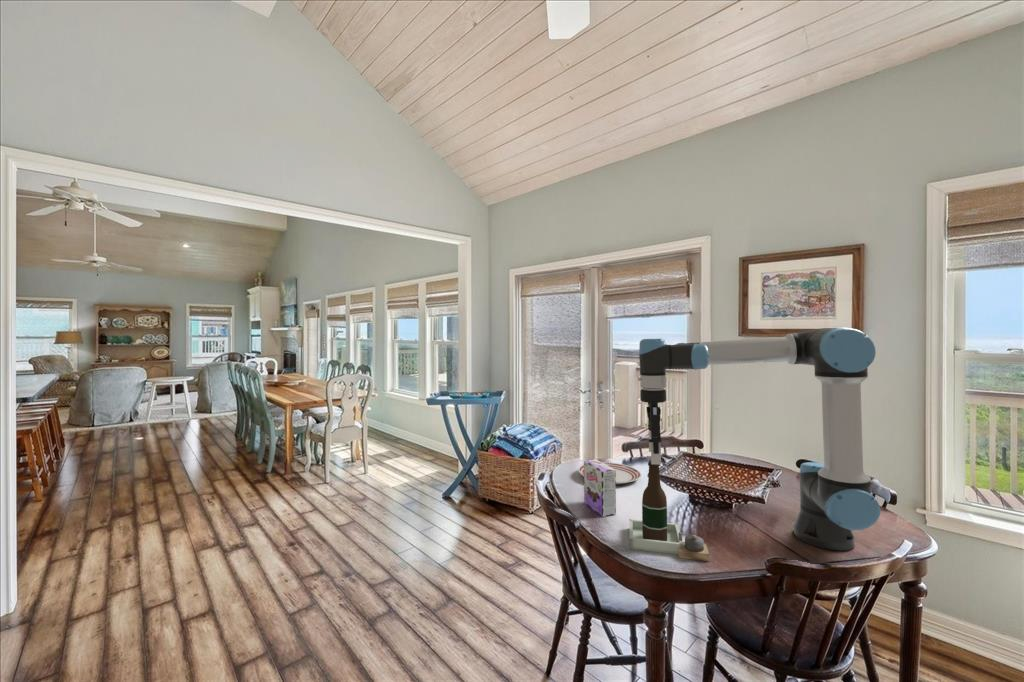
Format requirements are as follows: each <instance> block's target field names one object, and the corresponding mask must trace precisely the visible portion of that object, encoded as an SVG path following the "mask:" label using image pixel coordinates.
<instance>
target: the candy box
mask: <svg viewBox="0 0 1024 682" xmlns="http://www.w3.org/2000/svg"><path fill="white" fill-rule="evenodd" d="M602 462H603V461H601V460H598V459H597V458H593V459H587V460H583V465H584V476H583V481H584V482H583V483H584V484H583V486H584V487H583V488H584V489H583V490H584V491H583V492H584V498H583V500H584V501H583V503H584V504H585V505H586V506H588V507H589V508H590V509H591V510H593V511H594V512H595V513H597V514H598V515H599V516H601V517H602V518H605V517H606V518H607V517H613V516H617V508H616V507H617V505H616V504H617V503H616V502H617V498H616V497H617V495H616V491H617V490H616V489H617V485H616V469H613V468H611V467H609V466H608V465H606V464H604V463H602Z"/></svg>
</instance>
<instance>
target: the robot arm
mask: <svg viewBox="0 0 1024 682" xmlns="http://www.w3.org/2000/svg"><path fill="white" fill-rule="evenodd" d="M638 352H639V354H638V355H639V377H638V378H637V380H638V382H640V383H639V384H640V386H639V387H640V388H641V389H640V390H639V391H640V395H639V396H640V401H641V402H642V403H647V405H648V406H646V414H647V418H648V419H647V423H648V424H647V427H648V428H647V429H648V452H649V453H650V461H651V464H658V465H660V466H661V465H662V448H661V447H662V445H661V444H662V443H661V442H662V438H661V437H662V436H661V412H662V411H661V407H660V406H659V403H660V404H662V403H665V402H667V390H666V389H665V388H667V375H666V370H694V371H696V370H704V369H707V368H708V366H710V365H711V366H714V365H733V364H734V365H735V364H737V365H738V364H759V363H761V364H762V363H778V362H779V363H780V362H786V363H788V364H789V365H805V366H806V365H808V366H814V377H815V378H816V379H817V380H819V381H820V382H821V402H822V403H821V404H822V406H821V408H822V411H821V412H822V438H823V439H822V441H823V462H814V461H812V462H810V461H808V462H802V463H801V464H800V468H799V473H798V474H799V503H800V504H799V505H800V506H799V507H800V508H799V512H798V514H797V517H796V520H795V521H794V524H793V534H794V536H795V537H796V538H798V539H799V540H801V541H802V542H803V543H806V544H808V545H811V546H814V547H817V548H821V549H826V550H831V551H849V550H852V549H855V536H854V533H853V531H863V530H867V529H870V527H872V526H873V525H875V524H876V523H877V522H878V520H879V518H880V516H881V506H880V503H879V501H878V499H877V498H876V497H875V496H874V495H873V494H872V479H871V477H870V475H868V474H866V472H865V471H864V452H863V451H864V450H863V447H864V446H863V425H862V424H863V423H862V422H863V417H862V390H861V389H862V386H861V385H862V383H864V381H865V380H867V379H868V377H869V376H868V375H869V373H868V367H870V365H872V364H873V362H874V361H875V357H876V354H877V353H876V346H875V343H874V342H873V340H872V339H871V338H870V336H869V335H867V334H866V333H865V332H863V331H861V330H859V329H857V328H850V327H843V326H840V327H831V328H830V327H826V328H825V327H824V328H823V327H822V328H818V329H813V330H808V331H802V332H794V333H793V332H792V333H787V334H786V335H785V336H783V337H782V336H780V337H778V336H777V337H767V338H766V337H764V338H762V337H761V338H749V339H748V338H747V339H735V340H734V339H733V340H732V339H731V340H718V341H717V340H716V341H700V342H679V343H676V344H666V341H665V339H664V338H643V339H641V340H640V341H639V351H638Z"/></svg>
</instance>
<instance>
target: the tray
mask: <svg viewBox="0 0 1024 682" xmlns="http://www.w3.org/2000/svg"><path fill="white" fill-rule="evenodd" d="M628 524H629V525H628V526H629V550H635V551H646V552H652V553H662V554H671V555H672V554H673V555H678V548H684V544H683V542H684V540H682V541H680V540H679V532H681V529H680V526H679V524H678V523H672V522H667V541H659V540H649V539H643V533H642V519H630V518H629V523H628ZM677 541H678V542H679V543H678V542H677Z"/></svg>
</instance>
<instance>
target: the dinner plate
mask: <svg viewBox="0 0 1024 682" xmlns="http://www.w3.org/2000/svg"><path fill="white" fill-rule="evenodd" d="M601 462H602V463H604V464H606V465H608V466H609V467H611V468H613V469H616V486H617V485H623V484H629V483H631V482H635V481H638V480H639V479H641V477H642V473H641V471H640V470H638V469H637V468H635V467H632V466H630V465H626V464H622V463H619V462H618V463H617V462H606V461H605V462H603V461H601ZM577 471H578V473H579V474H580V475H581V476H582V477H584V464H582V465H580V466H579V467H578V469H577Z"/></svg>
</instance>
